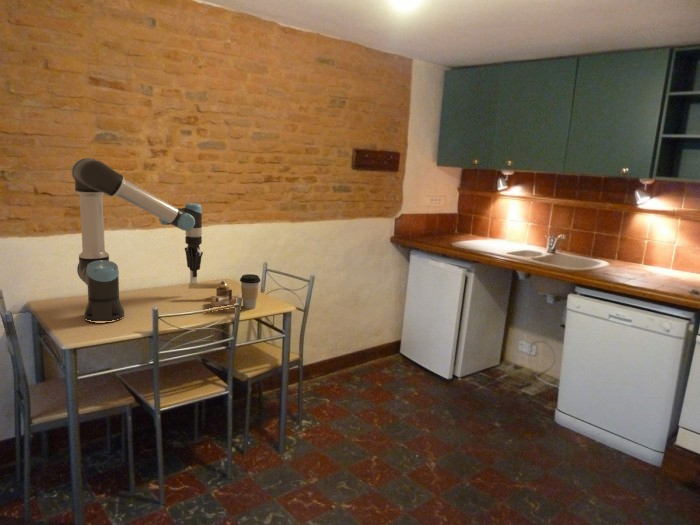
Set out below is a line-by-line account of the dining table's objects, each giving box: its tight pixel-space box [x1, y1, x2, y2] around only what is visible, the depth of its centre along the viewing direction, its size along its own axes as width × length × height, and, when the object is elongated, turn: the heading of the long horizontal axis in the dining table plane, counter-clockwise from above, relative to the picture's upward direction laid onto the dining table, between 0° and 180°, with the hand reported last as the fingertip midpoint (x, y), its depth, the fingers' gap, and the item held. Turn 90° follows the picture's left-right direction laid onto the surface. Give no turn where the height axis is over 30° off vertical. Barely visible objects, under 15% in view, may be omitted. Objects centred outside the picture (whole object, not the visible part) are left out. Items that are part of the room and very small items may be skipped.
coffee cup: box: [239, 273, 261, 310], centre depth 239 cm, size 9×9×15 cm
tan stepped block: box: [210, 289, 238, 314], centre depth 236 cm, size 12×14×8 cm
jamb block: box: [215, 286, 230, 296], centre depth 250 cm, size 6×6×5 cm
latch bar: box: [188, 280, 228, 290], centre depth 247 cm, size 18×4×3 cm, turn 106°
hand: (193, 282), depth 250 cm, fingers closed
